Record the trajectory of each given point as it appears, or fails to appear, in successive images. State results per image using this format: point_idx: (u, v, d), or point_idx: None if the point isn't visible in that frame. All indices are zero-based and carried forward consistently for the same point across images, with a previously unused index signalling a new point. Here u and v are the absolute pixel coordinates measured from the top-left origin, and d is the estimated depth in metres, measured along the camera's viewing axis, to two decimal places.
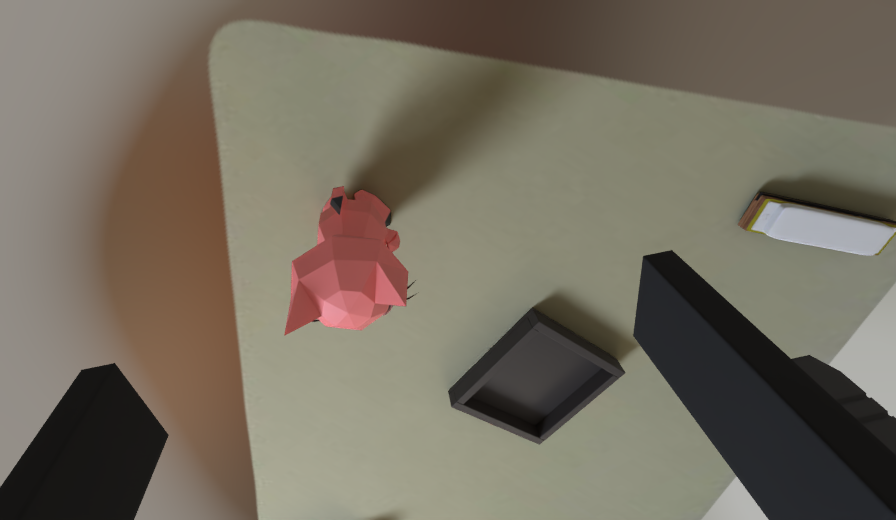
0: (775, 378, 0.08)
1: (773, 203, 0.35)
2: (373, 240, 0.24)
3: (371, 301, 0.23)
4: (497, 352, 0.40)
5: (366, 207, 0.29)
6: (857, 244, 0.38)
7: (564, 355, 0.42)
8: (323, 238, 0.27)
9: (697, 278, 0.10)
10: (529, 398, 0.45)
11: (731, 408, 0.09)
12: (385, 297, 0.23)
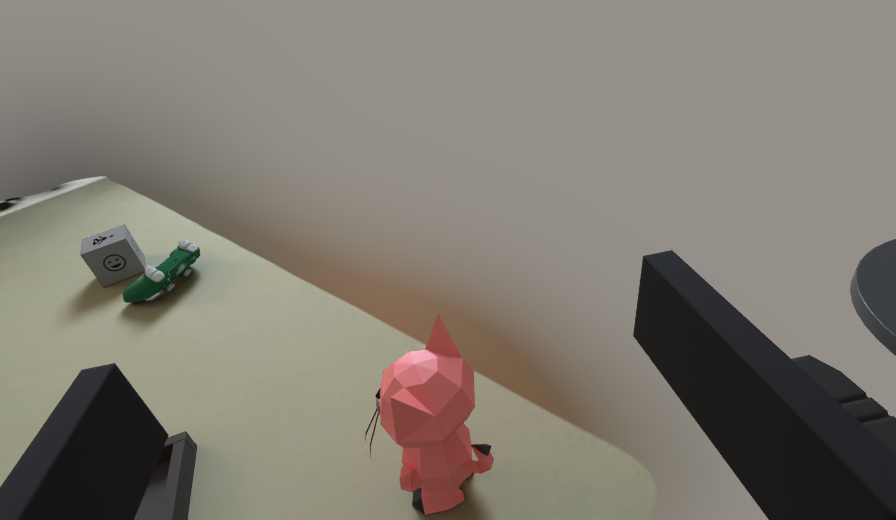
0: (775, 378, 0.08)
1: None
2: (447, 433, 0.24)
3: (407, 385, 0.24)
4: None
5: (455, 479, 0.27)
6: None
7: None
8: None
9: (697, 278, 0.10)
10: None
11: (731, 407, 0.09)
12: (404, 395, 0.23)
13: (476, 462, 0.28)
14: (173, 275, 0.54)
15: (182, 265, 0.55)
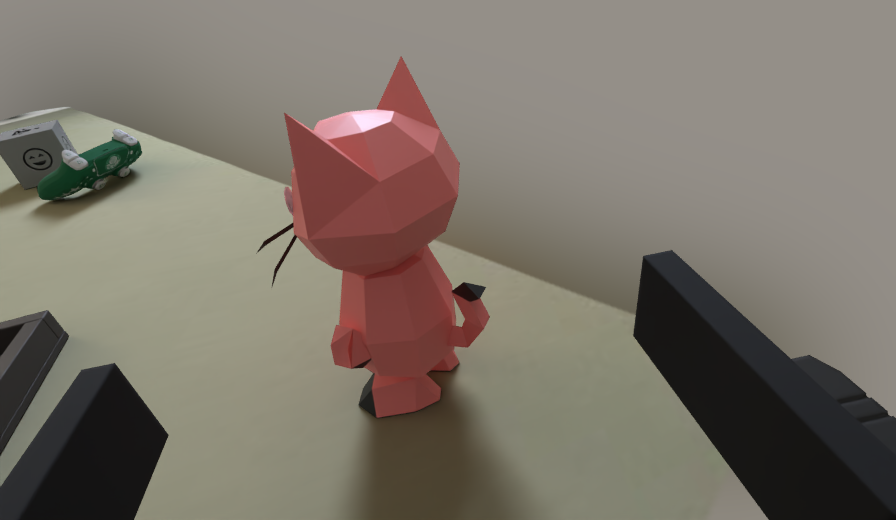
0: (775, 378, 0.08)
1: None
2: (404, 226, 0.13)
3: (334, 137, 0.13)
4: None
5: (424, 351, 0.16)
6: None
7: None
8: None
9: (697, 278, 0.10)
10: None
11: (731, 407, 0.09)
12: (322, 138, 0.12)
13: (461, 328, 0.17)
14: (101, 167, 0.43)
15: (114, 158, 0.44)
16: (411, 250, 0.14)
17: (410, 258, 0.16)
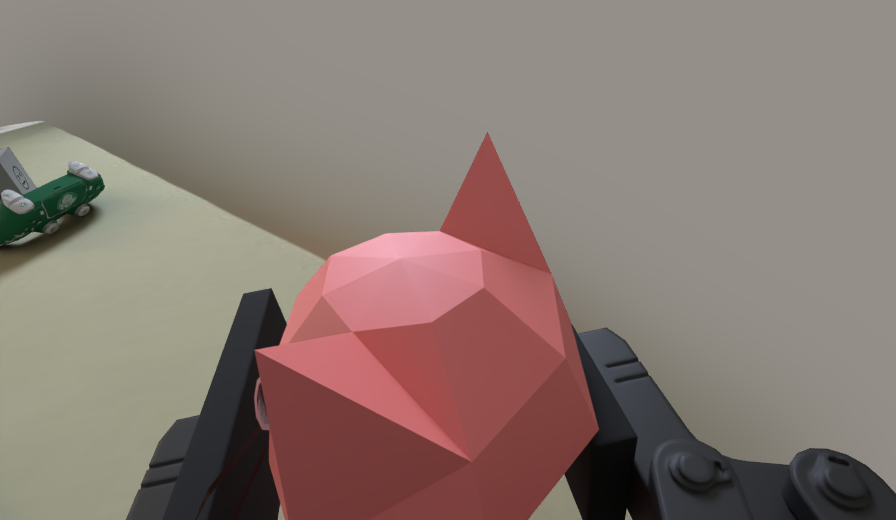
0: None
1: None
2: None
3: (368, 326, 0.06)
4: None
5: None
6: None
7: None
8: None
9: None
10: None
11: None
12: (346, 358, 0.05)
13: None
14: (52, 208, 0.36)
15: (68, 196, 0.37)
16: None
17: None
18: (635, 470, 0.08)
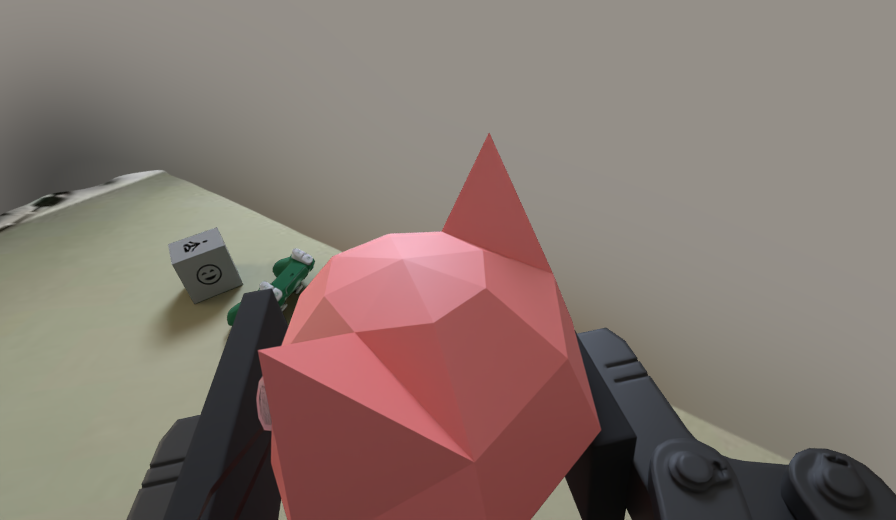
0: None
1: None
2: None
3: (370, 327, 0.06)
4: None
5: None
6: None
7: None
8: None
9: None
10: None
11: None
12: (349, 358, 0.05)
13: None
14: (289, 293, 0.43)
15: (298, 281, 0.44)
16: None
17: None
18: (636, 470, 0.08)
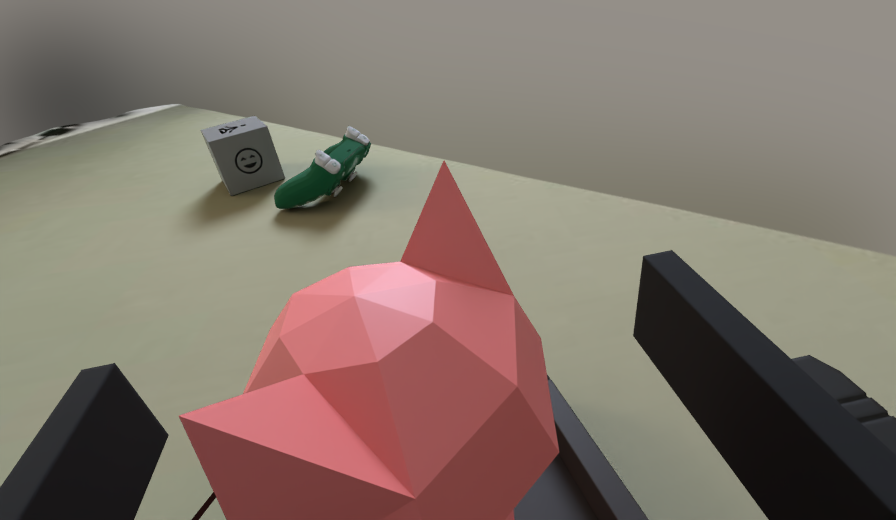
0: (775, 378, 0.08)
1: None
2: None
3: (317, 368, 0.06)
4: None
5: None
6: None
7: None
8: None
9: (697, 278, 0.10)
10: None
11: (731, 407, 0.09)
12: (288, 405, 0.05)
13: None
14: (347, 170, 0.37)
15: (356, 159, 0.38)
16: None
17: None
18: None
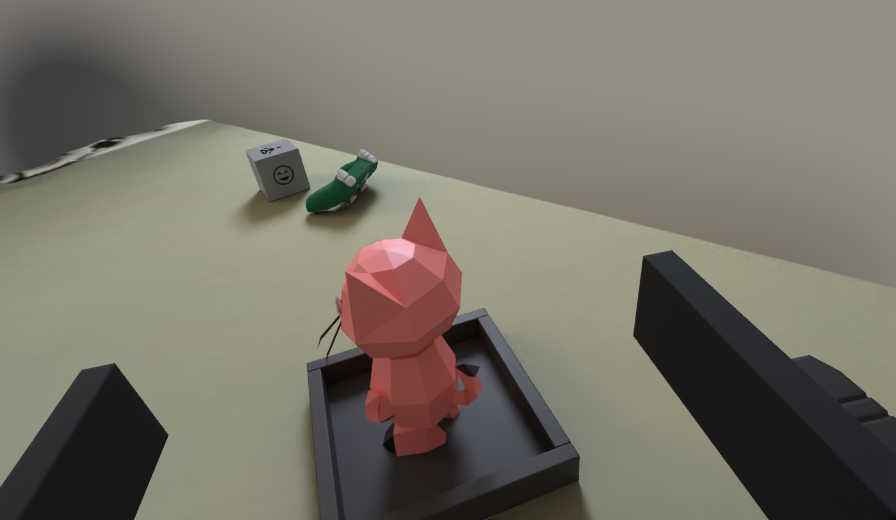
0: (775, 378, 0.08)
1: None
2: (422, 335, 0.18)
3: (373, 271, 0.18)
4: None
5: (433, 410, 0.22)
6: None
7: (437, 481, 0.22)
8: (443, 340, 0.23)
9: (697, 278, 0.10)
10: None
11: (731, 407, 0.09)
12: (367, 278, 0.18)
13: (461, 392, 0.23)
14: (360, 183, 0.49)
15: (367, 175, 0.50)
16: (426, 345, 0.20)
17: None
18: None
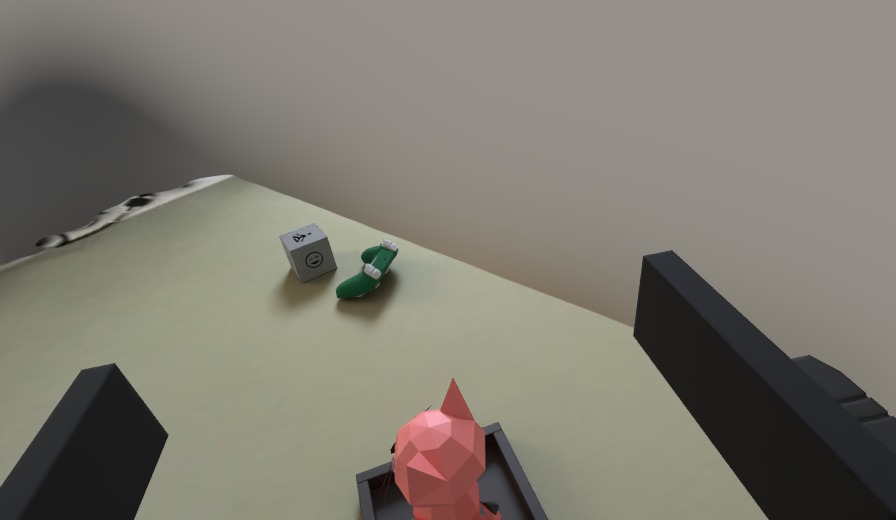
0: (775, 378, 0.08)
1: None
2: (458, 497, 0.25)
3: (422, 449, 0.25)
4: None
5: None
6: None
7: None
8: None
9: (697, 278, 0.10)
10: None
11: (731, 407, 0.09)
12: (419, 460, 0.24)
13: (484, 517, 0.29)
14: (384, 273, 0.56)
15: (389, 264, 0.57)
16: None
17: None
18: None
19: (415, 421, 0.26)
